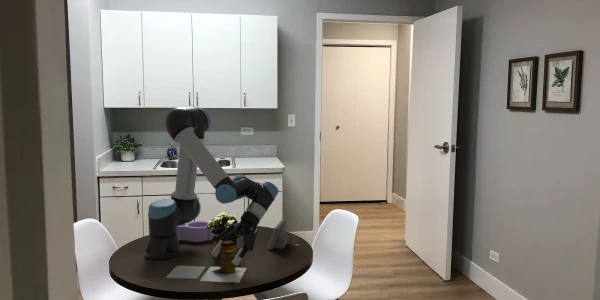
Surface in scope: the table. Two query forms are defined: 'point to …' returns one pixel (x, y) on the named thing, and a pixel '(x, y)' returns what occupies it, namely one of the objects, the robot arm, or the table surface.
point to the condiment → (226, 259)
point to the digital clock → (278, 236)
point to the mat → (186, 272)
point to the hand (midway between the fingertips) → (223, 259)
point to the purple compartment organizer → (194, 232)
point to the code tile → (214, 277)
